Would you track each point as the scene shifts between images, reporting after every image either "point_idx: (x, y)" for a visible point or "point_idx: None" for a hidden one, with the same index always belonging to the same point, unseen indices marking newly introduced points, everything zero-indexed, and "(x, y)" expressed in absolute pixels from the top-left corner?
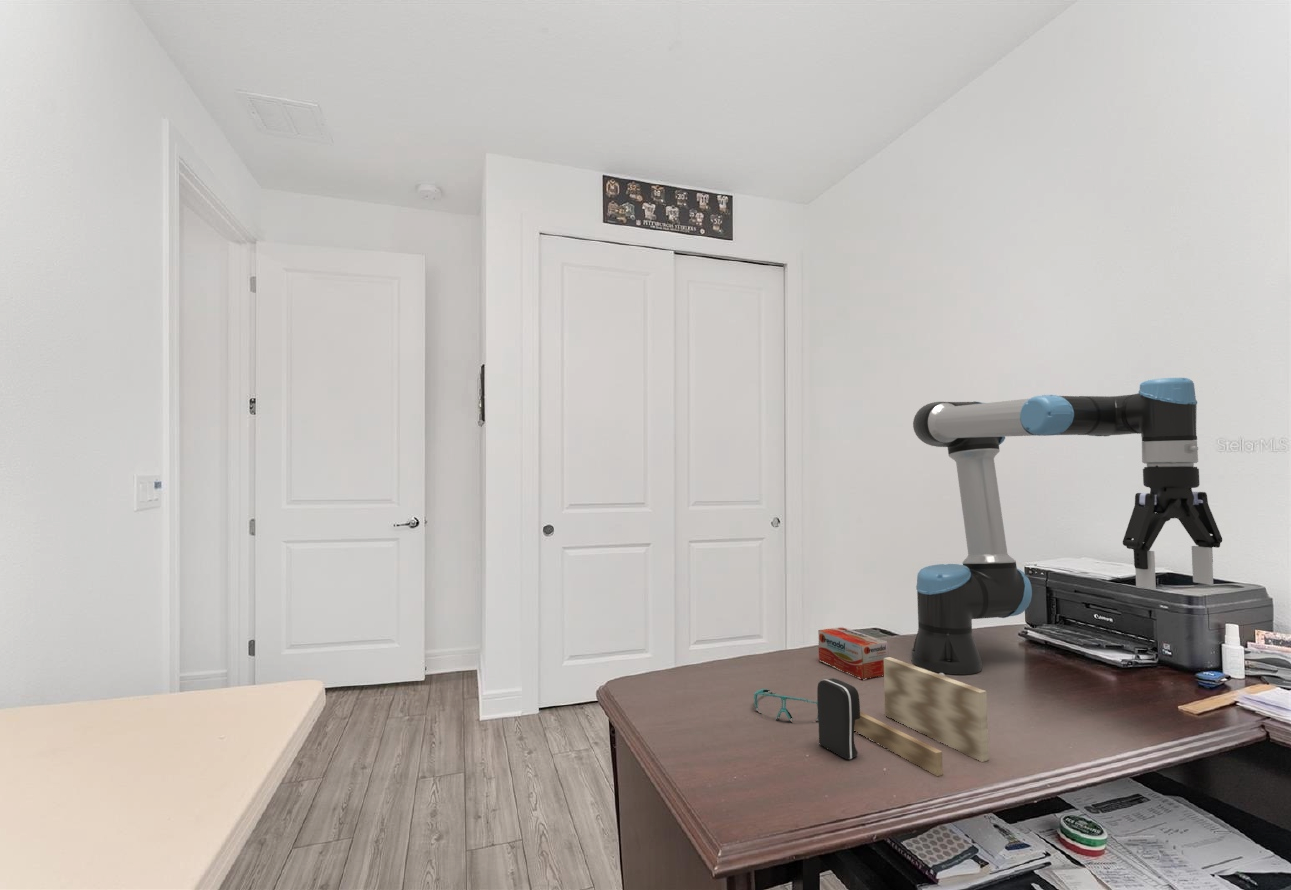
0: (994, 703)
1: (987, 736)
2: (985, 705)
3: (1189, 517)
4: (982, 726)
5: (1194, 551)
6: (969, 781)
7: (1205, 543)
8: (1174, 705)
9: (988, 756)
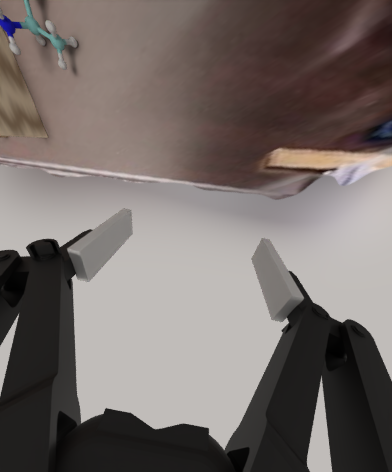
0: (125, 35)
1: (31, 136)
2: (3, 135)
3: (234, 443)
4: (17, 136)
5: (281, 288)
6: (23, 152)
7: (293, 324)
8: (278, 146)
9: (45, 137)
